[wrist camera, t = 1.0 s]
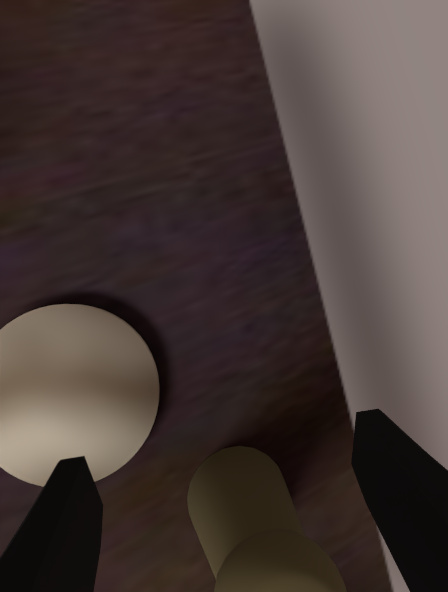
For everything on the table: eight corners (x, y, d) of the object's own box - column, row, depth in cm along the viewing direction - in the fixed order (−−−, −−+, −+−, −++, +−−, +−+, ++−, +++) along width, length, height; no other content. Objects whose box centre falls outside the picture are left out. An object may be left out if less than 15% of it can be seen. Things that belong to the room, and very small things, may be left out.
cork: (287, 444, 25) (379, 548, 15) (284, 545, 25) (376, 726, 14) (188, 446, 25) (208, 557, 14) (185, 550, 24) (202, 746, 14)
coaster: (171, 459, 24) (172, 466, 23) (-9, 497, 23) (-17, 506, 22) (145, 291, 24) (144, 291, 23) (-37, 319, 23) (-46, 319, 22)
